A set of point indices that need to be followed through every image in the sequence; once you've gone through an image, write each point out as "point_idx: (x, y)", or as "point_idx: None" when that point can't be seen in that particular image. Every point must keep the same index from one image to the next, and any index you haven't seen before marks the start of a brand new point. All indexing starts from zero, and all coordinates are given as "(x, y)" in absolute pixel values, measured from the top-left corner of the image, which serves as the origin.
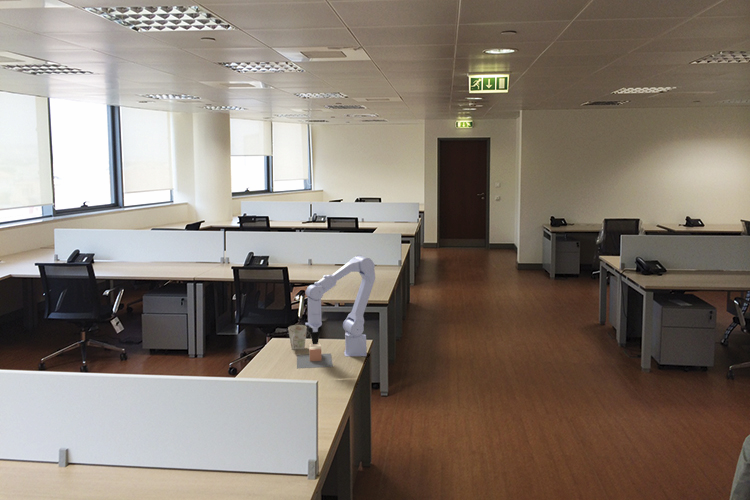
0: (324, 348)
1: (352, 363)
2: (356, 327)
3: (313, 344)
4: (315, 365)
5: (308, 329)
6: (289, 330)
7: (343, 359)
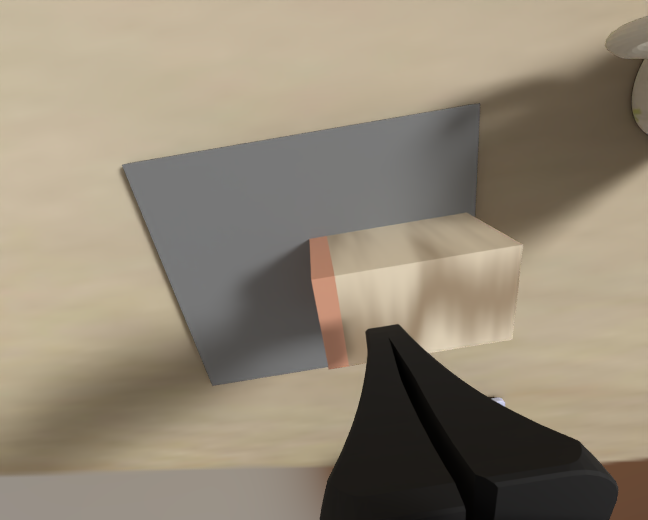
0: (606, 286)
1: (302, 447)
2: None
3: (489, 287)
4: (219, 290)
5: (360, 514)
6: None
7: None
